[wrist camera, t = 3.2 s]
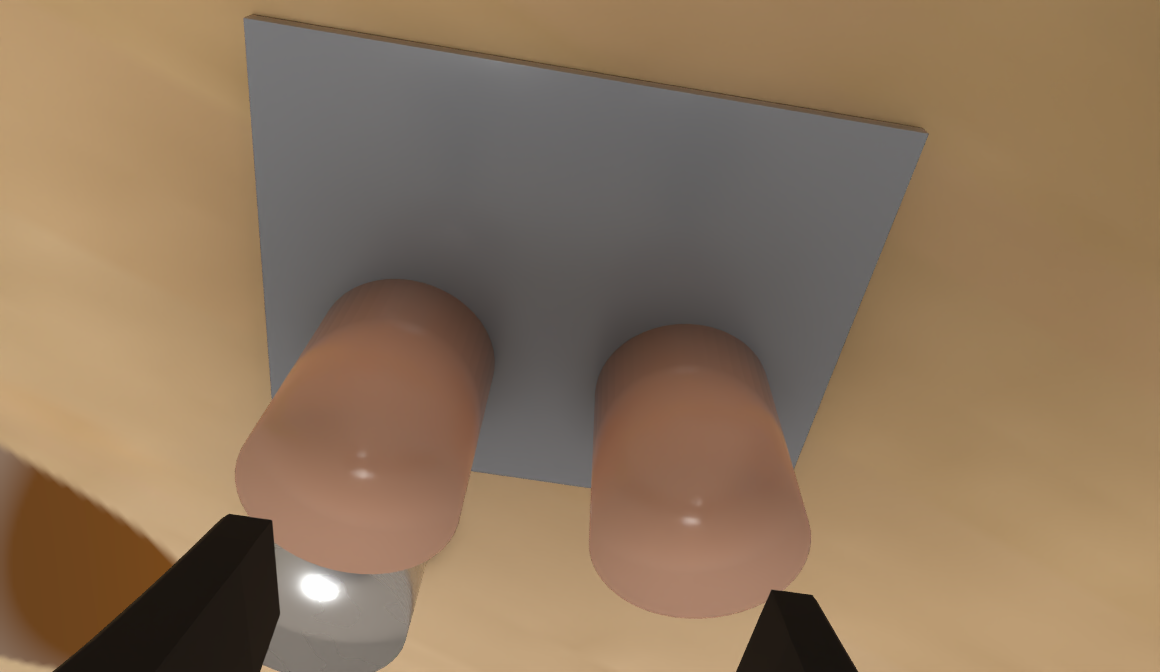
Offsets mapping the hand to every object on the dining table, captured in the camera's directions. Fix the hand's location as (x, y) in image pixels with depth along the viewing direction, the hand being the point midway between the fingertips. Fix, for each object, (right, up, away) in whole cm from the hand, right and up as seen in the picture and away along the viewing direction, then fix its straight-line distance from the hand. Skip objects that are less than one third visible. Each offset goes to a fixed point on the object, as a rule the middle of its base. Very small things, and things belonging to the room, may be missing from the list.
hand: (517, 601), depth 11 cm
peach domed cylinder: (-3, +3, +8) cm, 9 cm away
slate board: (0, +5, +8) cm, 9 cm away
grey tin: (-6, -1, +12) cm, 13 cm away
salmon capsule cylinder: (+4, +2, +8) cm, 9 cm away
